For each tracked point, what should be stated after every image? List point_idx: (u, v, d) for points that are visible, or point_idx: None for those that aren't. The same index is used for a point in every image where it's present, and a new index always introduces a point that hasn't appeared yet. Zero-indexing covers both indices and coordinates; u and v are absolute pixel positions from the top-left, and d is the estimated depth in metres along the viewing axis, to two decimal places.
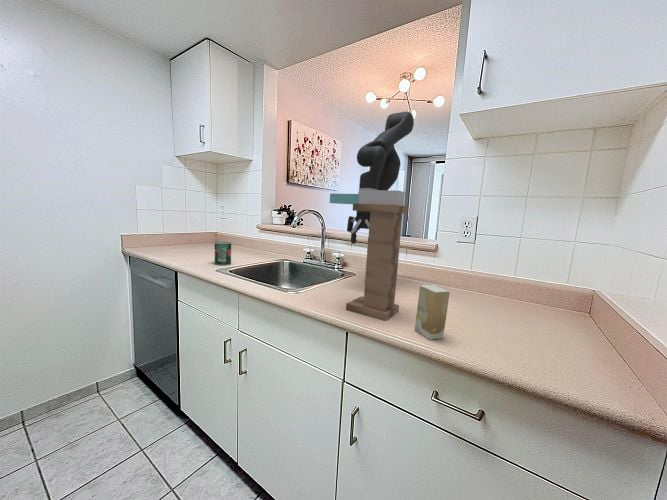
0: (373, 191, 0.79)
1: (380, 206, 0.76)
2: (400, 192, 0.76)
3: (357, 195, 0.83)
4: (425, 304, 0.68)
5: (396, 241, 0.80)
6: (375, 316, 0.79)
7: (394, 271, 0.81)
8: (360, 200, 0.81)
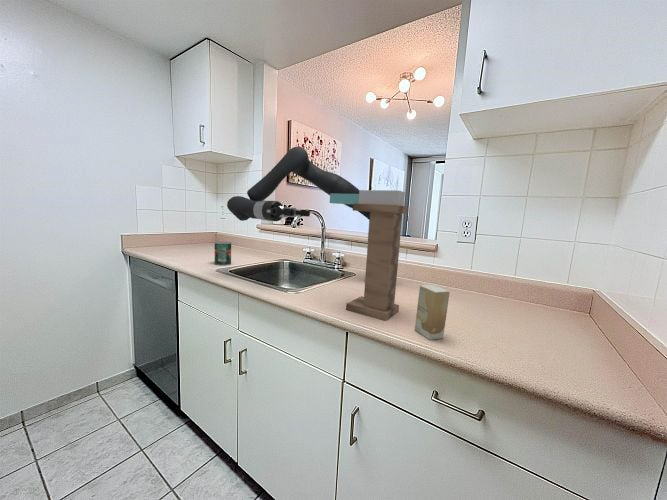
0: (373, 191, 0.79)
1: (380, 206, 0.76)
2: (400, 192, 0.76)
3: (357, 195, 0.83)
4: (425, 304, 0.68)
5: (396, 241, 0.80)
6: (375, 316, 0.79)
7: (394, 271, 0.81)
8: (360, 200, 0.81)
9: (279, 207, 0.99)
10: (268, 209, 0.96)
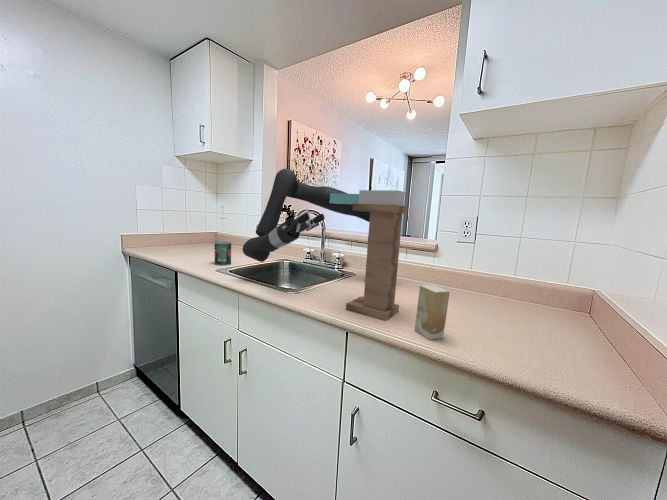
0: (373, 191, 0.79)
1: (380, 206, 0.76)
2: (400, 192, 0.76)
3: (357, 195, 0.83)
4: (425, 304, 0.68)
5: (396, 241, 0.80)
6: (375, 316, 0.79)
7: (394, 271, 0.81)
8: (360, 200, 0.81)
9: None
10: (283, 225, 0.93)
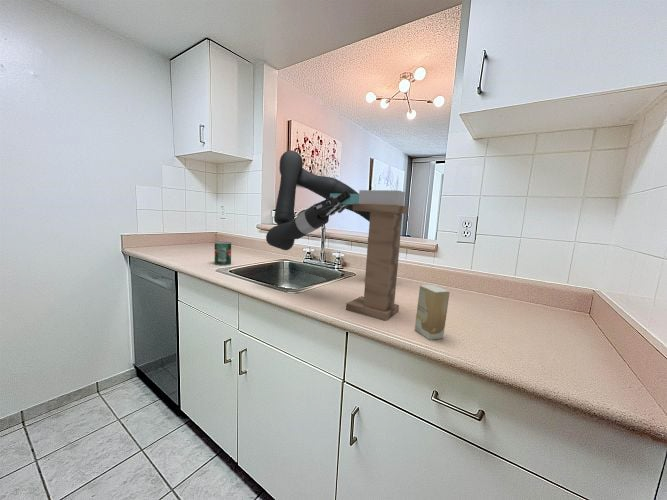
0: (373, 191, 0.79)
1: (380, 206, 0.76)
2: (400, 192, 0.76)
3: (357, 195, 0.83)
4: (425, 304, 0.68)
5: (396, 241, 0.80)
6: (375, 316, 0.79)
7: (394, 271, 0.81)
8: (360, 200, 0.81)
9: None
10: (319, 204, 0.85)
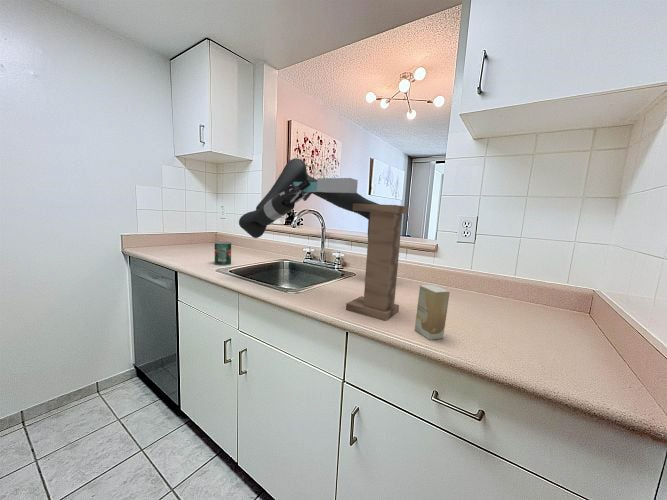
0: (328, 179, 0.87)
1: (380, 206, 0.76)
2: (351, 179, 0.84)
3: (316, 183, 0.91)
4: (425, 304, 0.68)
5: (396, 241, 0.80)
6: (375, 316, 0.79)
7: (394, 271, 0.81)
8: (318, 187, 0.89)
9: (289, 190, 0.96)
10: (282, 191, 0.93)
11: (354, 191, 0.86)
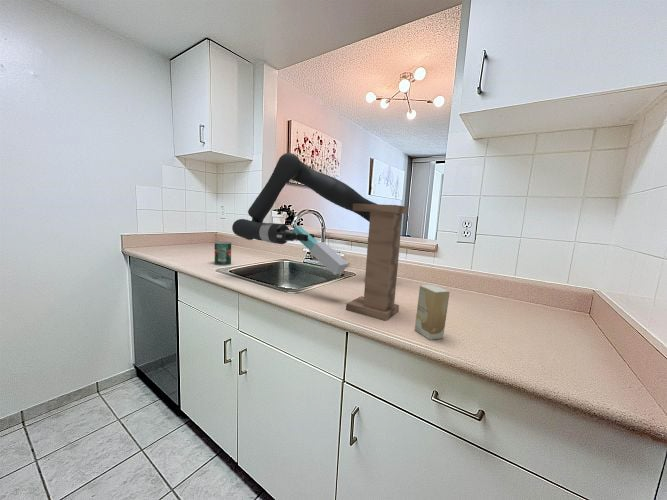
0: (323, 251, 0.90)
1: (380, 206, 0.76)
2: (342, 265, 0.88)
3: (312, 244, 0.94)
4: (424, 304, 0.68)
5: (396, 241, 0.80)
6: (375, 316, 0.79)
7: (394, 271, 0.81)
8: (312, 250, 0.93)
9: (288, 231, 0.98)
10: (279, 234, 0.95)
11: (340, 272, 0.91)
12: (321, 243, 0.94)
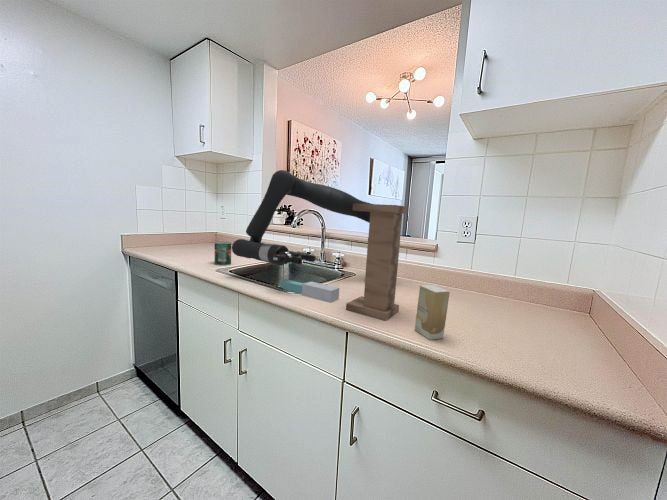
0: (312, 287, 0.94)
1: (380, 206, 0.76)
2: (333, 291, 0.91)
3: (301, 286, 0.98)
4: (425, 304, 0.68)
5: (396, 241, 0.80)
6: (375, 316, 0.79)
7: (394, 271, 0.81)
8: (303, 292, 0.96)
9: (285, 253, 0.99)
10: (275, 257, 0.96)
11: (336, 299, 0.93)
12: (308, 282, 0.98)
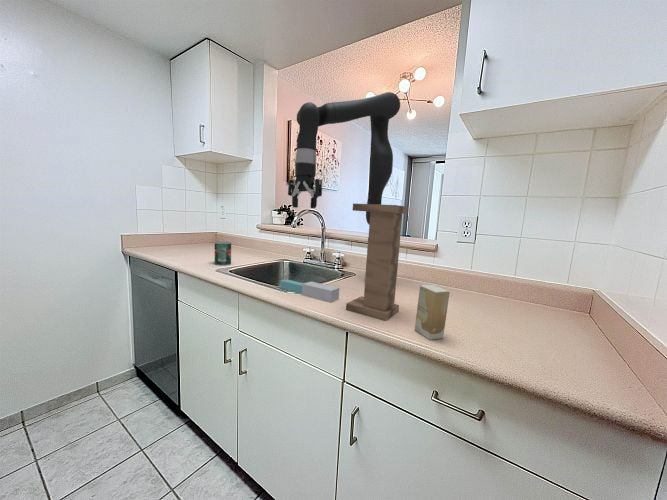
0: (312, 287, 0.94)
1: (380, 206, 0.76)
2: (333, 291, 0.91)
3: (301, 286, 0.98)
4: (425, 304, 0.68)
5: (396, 241, 0.80)
6: (375, 316, 0.79)
7: (394, 271, 0.81)
8: (303, 292, 0.96)
9: None
10: (320, 182, 0.99)
11: (336, 299, 0.93)
12: (308, 282, 0.98)
